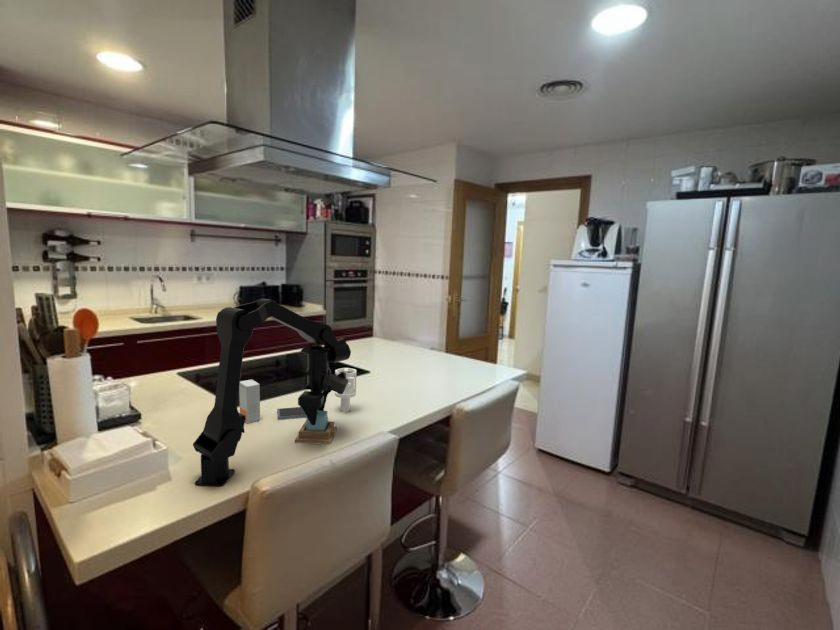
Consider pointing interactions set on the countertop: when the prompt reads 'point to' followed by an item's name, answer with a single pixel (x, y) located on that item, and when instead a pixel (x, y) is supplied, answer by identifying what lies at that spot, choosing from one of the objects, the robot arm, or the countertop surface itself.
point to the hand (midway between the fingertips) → (317, 418)
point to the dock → (317, 435)
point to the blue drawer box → (318, 422)
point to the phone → (291, 413)
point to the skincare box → (250, 400)
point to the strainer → (347, 388)
